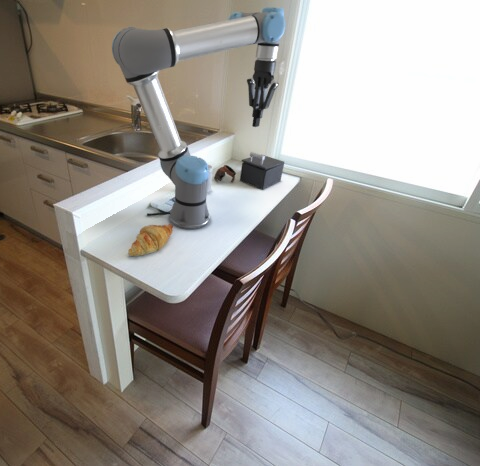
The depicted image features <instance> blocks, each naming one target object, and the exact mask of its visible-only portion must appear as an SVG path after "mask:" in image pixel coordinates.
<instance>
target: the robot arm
mask: <svg viewBox="0 0 480 466" xmlns="http://www.w3.org/2000/svg"><path fill="white" fill-rule="evenodd" d="M285 32H286V19H285V10H284V8H282V7H274V6H273V7H272V6H271V7H270V6H265V7H263V8H262V10H261V12H245V11H244V12H243V11H234V12H232V13H231V14H230V15H229V17H228V19H227V20H222V21H217V22H212V23H208V24H203V25H198V26H193V27H187V28H183V29H177V30H173V31H172V30H171V29H170V28H169V27H165V28H161V29H146V28H137V27H134V26H128V27H125V28H122V29H121V30H119V31H118V32H117V33H116V34H115V36H114V37H113V39H112V43H111V53H112V56H113V57H112V58H113V59H114V61H115V63H116V64H117V65H118V66H119V68H120V70H121V72H122V75H123V77H124V79H125V81H126V84H128V85H130V86H132V87H133V88H134V91H135V93H136V96H137V98H138V100H139V103H140V106H141V108H142V110H143V113H144V115H145V118H146V120H147V123H148V124H149V127H150V129H151V132H152V134H153V136H154V139H155V142H156V144H157V146H158V148H159V149H158V152H157V157H158V159H159V163H160V168H161V170H162V172H163V173H164V175H165V176H167V177H168V179H169V181H171V182H172V184H173V185H174V202H173V205H172V207H171V210H170V211H166V212H165V211H164V212H154V213H146V216H147V217H153V216H164V215H165V216H166V215H169V221H170V224H171V225H173V226H176V227H177V228H179V229H183V230H197V229H202V228H204V227H206V226H208V224H209V223H210V217H211V214H210V211H209V209H208V208H209V207H208V204H207V194H208V193H207V184H208V176H209V171H208V165H209V164H208V162H207V161H206V160H205V159H203V158H202V157H198V156H196V155H191V152H190V150H189V146H188V145H187V142H186V141H184V140H182V139H181V137H180V135H179V131H178V129H177V126H176V123H175V119H174V117H173V114H172V112H171V110H170V107H169V104H168V101H167V99H166V95H165V93H164V90H163V88H162V85H161V81H160V79H159V73H160V71H163V70H166V69H169V68H173V67H176V65H177V64H178V62H183V61H187V60H191V59H194V58H200V57H204V56H208V55H212V54H217V53H220V52H226V51H231V50H234V49H238V48H242V47H246V46H251V45H257V46H256V52H255V58H256V59H255V61H254V66H253V71H254V72H253V74H252V76H251V77H250V78H247V79H246V84H247V86H248V105H249V107H251V108H252V113H251V117H252V118H253V119H252V123H251V124H252V125H251V126H252V127H253V128H257V127H260V123H261V119H262V118H263V115H264V110H267V109H269V108H270V105H271V102H272V100H273V97H274V95H275V92H276V89H278V87H279V85H280V84H279V82H277V81H276V80H275V75H274V74H275V71H276V65H277V61H276V60H277V59H278V52H279V47H280V41H281V38H282V37H283V35H284V33H285ZM269 86H270V87H269Z"/></svg>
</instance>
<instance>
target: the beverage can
mask: <svg viewBox="0 0 480 466" xmlns="http://www.w3.org/2000/svg"><path fill="white" fill-rule="evenodd" d="M208 171H209V176H208V184H207V194H209V193H211V192H212V181H213V173H214V169H213V166H212V165H211V164H208Z"/></svg>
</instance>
